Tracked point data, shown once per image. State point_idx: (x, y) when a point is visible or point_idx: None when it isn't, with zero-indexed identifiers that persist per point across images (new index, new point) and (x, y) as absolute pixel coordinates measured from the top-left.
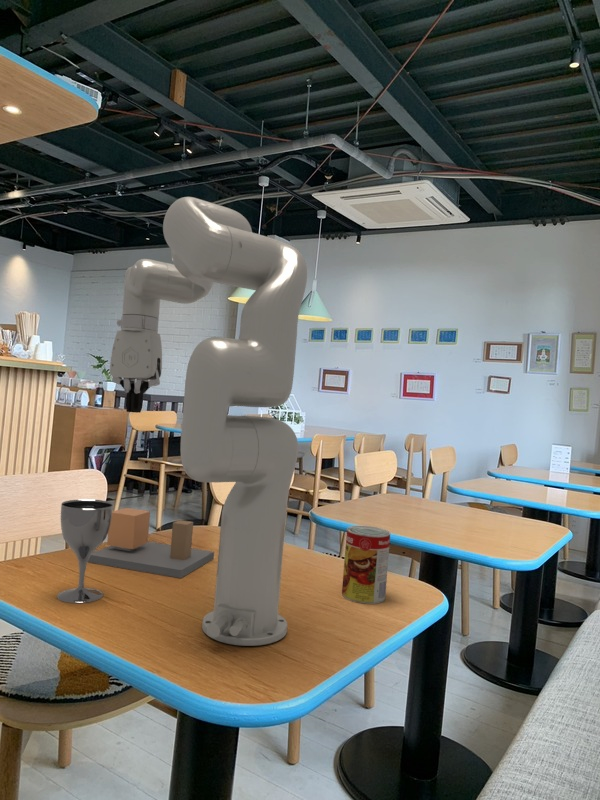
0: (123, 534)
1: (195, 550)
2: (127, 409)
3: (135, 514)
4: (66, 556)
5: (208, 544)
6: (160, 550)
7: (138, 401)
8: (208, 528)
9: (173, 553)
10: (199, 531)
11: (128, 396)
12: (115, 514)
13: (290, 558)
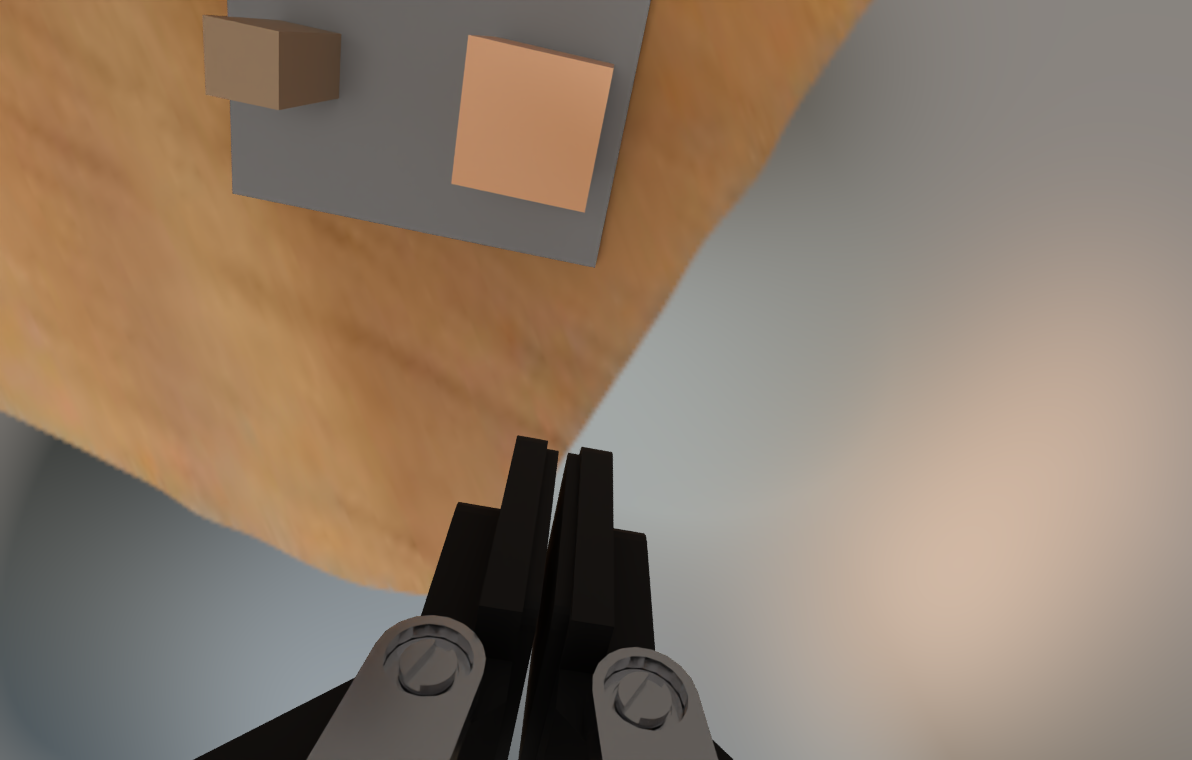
0: (536, 47)
1: (301, 185)
2: (596, 457)
3: (481, 73)
4: (761, 21)
5: (341, 371)
6: (420, 135)
7: (444, 553)
8: (424, 566)
9: (319, 30)
10: (437, 521)
11: (591, 575)
12: (580, 60)
13: (12, 291)
